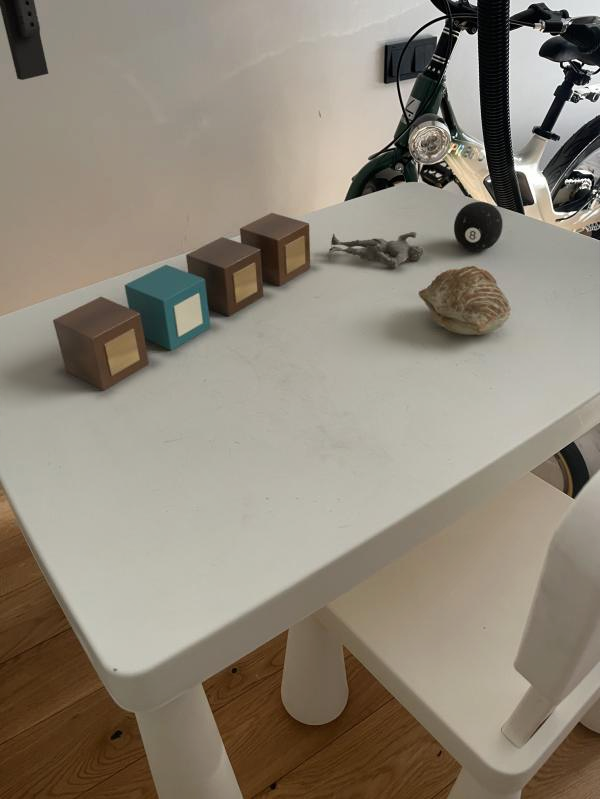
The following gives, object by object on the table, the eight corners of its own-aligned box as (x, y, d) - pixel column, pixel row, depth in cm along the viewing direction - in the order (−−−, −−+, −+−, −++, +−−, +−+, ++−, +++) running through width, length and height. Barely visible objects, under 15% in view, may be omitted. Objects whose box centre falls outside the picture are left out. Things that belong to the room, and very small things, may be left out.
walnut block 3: (243, 273, 92) (239, 228, 88) (274, 256, 96) (271, 212, 92) (281, 286, 89) (278, 240, 85) (311, 268, 92) (310, 223, 89)
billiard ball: (503, 242, 97) (509, 198, 93) (493, 261, 92) (499, 215, 89) (458, 236, 99) (462, 192, 95) (446, 254, 95) (451, 209, 91)
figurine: (330, 221, 95) (424, 218, 92) (334, 244, 98) (425, 241, 95) (324, 254, 91) (421, 251, 89) (328, 277, 94) (423, 275, 92)
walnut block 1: (65, 371, 75) (52, 319, 72) (111, 345, 79) (101, 296, 75) (104, 391, 72) (92, 339, 68) (150, 364, 76) (141, 313, 72)
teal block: (133, 334, 81) (124, 284, 77) (173, 312, 84) (166, 264, 81) (172, 351, 77) (164, 301, 74) (211, 328, 81) (206, 278, 78)
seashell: (464, 361, 75) (518, 331, 79) (469, 303, 71) (527, 274, 74) (403, 321, 81) (456, 295, 85) (405, 266, 77) (460, 240, 80)
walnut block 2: (191, 301, 86) (185, 254, 83) (226, 282, 90) (222, 236, 86) (230, 317, 83) (225, 268, 80) (264, 296, 87) (261, 249, 83)
